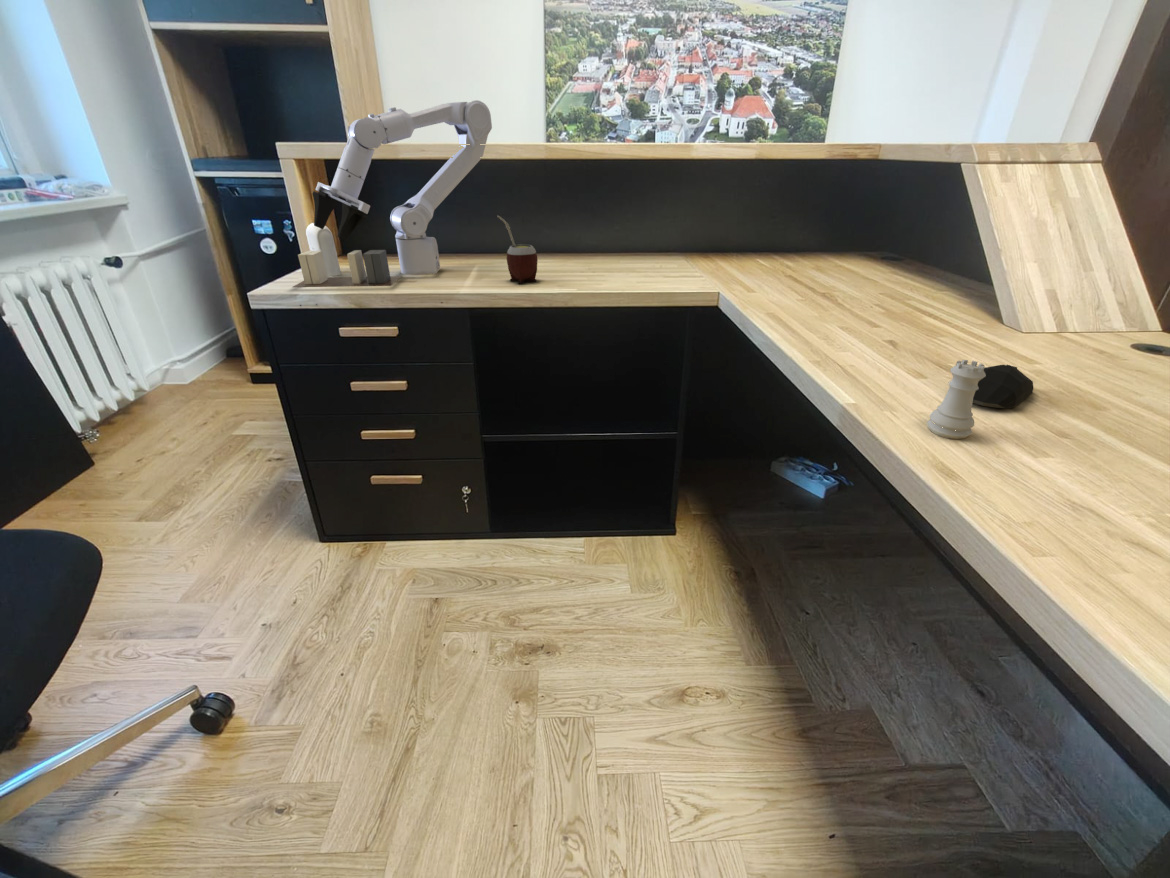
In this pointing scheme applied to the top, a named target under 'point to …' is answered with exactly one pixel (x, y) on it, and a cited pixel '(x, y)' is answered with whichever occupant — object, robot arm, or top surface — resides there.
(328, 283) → the shelf board
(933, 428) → the rook chess piece
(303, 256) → the beige books
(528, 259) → the mate gourd
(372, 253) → the grey books
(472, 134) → the robot arm
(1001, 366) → the gaming mouse
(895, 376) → the top surface
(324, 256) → the photo printer
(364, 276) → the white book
